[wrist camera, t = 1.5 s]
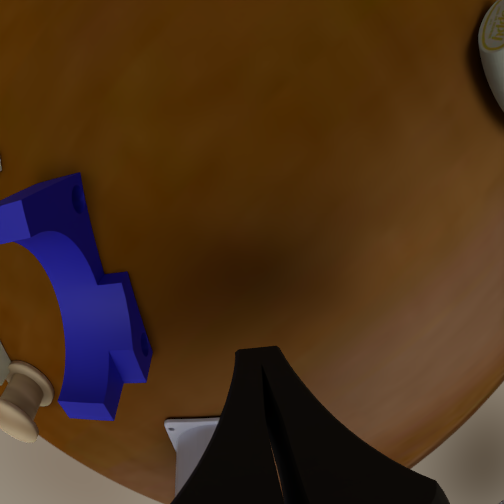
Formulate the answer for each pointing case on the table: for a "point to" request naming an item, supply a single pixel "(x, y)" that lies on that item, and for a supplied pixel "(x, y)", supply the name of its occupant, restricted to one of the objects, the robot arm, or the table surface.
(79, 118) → the table surface
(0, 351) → the notched fence
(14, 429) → the bobbin
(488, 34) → the air freshener
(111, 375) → the blue curved block
